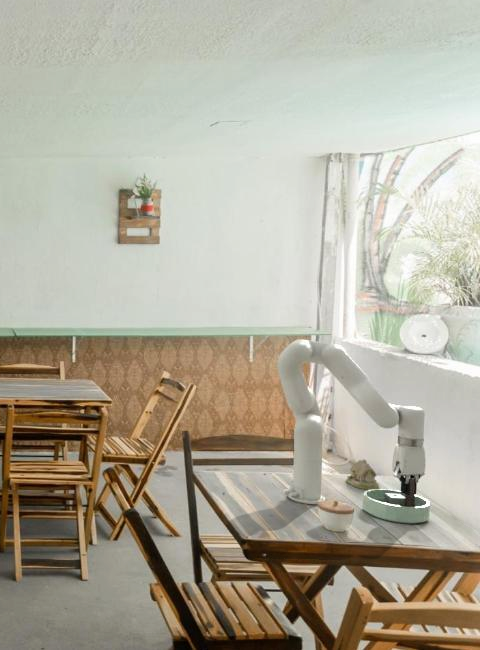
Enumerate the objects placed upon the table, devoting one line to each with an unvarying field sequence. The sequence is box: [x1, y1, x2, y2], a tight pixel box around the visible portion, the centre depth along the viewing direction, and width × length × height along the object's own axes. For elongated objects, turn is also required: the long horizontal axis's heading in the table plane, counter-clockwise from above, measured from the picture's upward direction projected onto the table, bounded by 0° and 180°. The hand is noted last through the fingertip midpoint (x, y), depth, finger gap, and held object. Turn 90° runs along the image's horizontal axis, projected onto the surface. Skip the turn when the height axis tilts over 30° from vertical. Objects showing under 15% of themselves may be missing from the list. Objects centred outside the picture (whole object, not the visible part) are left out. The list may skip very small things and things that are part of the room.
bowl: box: [362, 488, 431, 524], centre depth 237 cm, size 20×20×6 cm
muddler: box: [403, 477, 416, 507], centre depth 236 cm, size 4×4×11 cm
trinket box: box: [317, 499, 355, 533], centre depth 223 cm, size 11×11×9 cm
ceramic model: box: [346, 459, 380, 490], centre depth 271 cm, size 14×11×10 cm
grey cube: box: [384, 493, 405, 506], centre depth 240 cm, size 5×5×5 cm
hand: (408, 493), depth 236 cm, fingers closed on muddler, 2 cm apart
